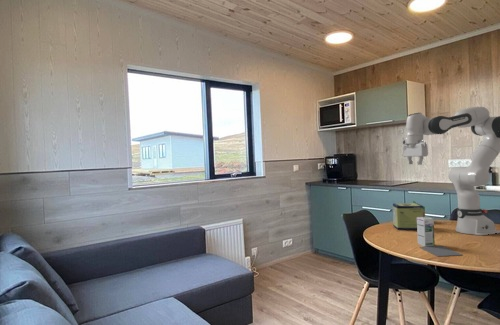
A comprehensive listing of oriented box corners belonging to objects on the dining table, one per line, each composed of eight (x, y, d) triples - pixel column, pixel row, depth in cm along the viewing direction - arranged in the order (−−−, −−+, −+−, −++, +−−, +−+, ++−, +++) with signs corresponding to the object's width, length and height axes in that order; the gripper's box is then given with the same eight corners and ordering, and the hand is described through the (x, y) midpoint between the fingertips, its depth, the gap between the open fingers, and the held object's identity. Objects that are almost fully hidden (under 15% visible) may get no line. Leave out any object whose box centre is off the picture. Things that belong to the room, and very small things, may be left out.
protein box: (423, 230, 198) (423, 205, 198) (397, 230, 201) (396, 205, 201) (418, 226, 209) (417, 203, 208) (392, 226, 211) (392, 203, 211)
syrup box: (425, 246, 164) (424, 218, 164) (417, 243, 170) (416, 216, 170) (434, 245, 165) (434, 218, 165) (426, 242, 171) (426, 216, 171)
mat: (441, 246, 164) (441, 245, 164) (462, 255, 149) (462, 254, 149) (419, 247, 163) (419, 246, 163) (438, 256, 148) (437, 256, 148)
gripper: (431, 139, 175) (431, 164, 175) (410, 141, 195) (410, 164, 196) (419, 139, 175) (420, 165, 175) (400, 141, 195) (400, 164, 195)
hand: (415, 164), depth 185 cm, fingers open, 8 cm apart
